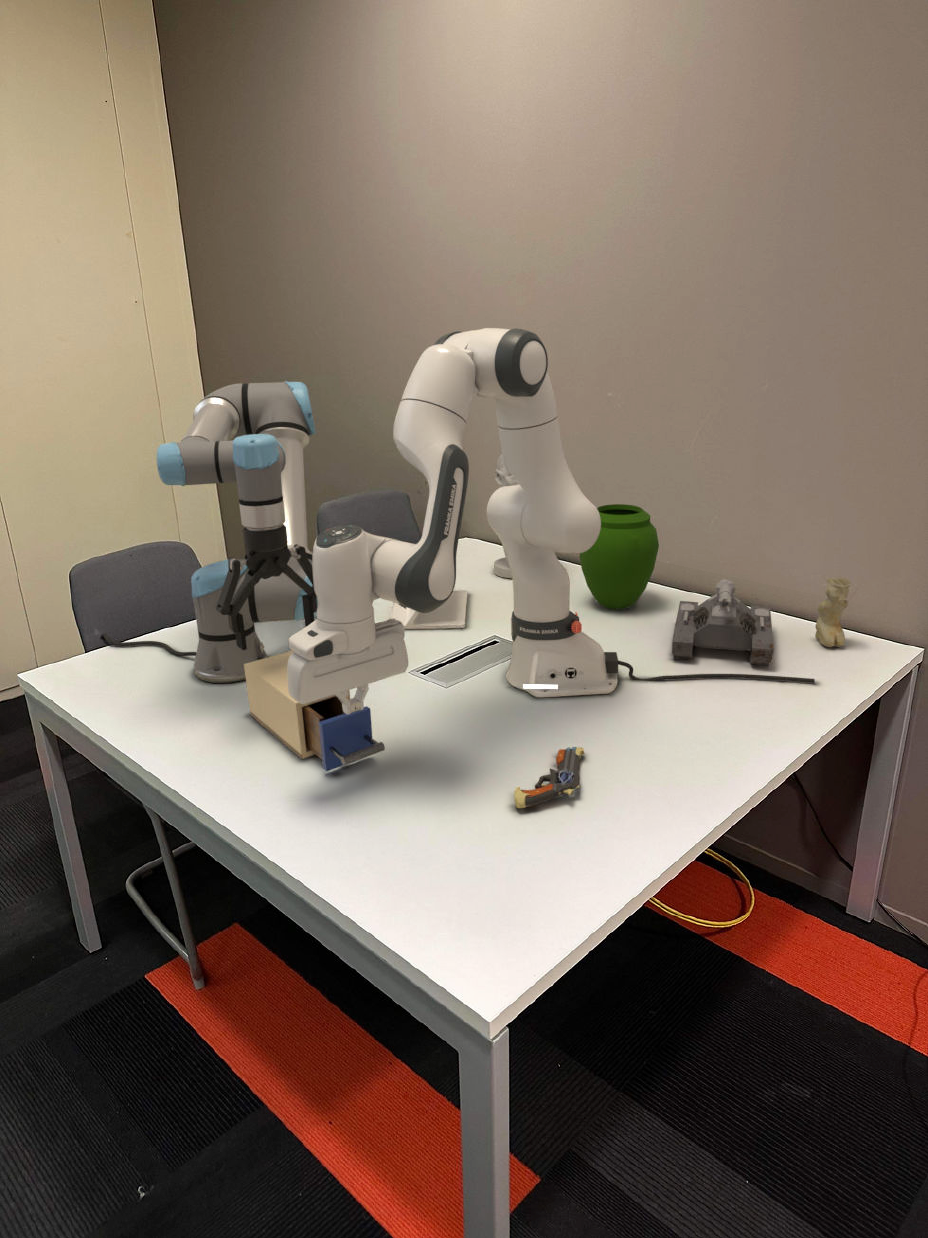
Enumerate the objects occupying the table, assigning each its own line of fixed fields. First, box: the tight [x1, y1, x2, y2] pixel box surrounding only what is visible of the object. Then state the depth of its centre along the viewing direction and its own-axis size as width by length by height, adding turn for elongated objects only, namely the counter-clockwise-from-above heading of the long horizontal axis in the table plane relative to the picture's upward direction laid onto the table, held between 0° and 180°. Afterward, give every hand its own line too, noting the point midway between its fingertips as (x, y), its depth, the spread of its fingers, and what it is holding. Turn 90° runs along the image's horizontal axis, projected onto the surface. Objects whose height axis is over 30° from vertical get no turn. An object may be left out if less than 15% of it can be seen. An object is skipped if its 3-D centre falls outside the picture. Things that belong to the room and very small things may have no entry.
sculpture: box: [814, 576, 852, 648], centre depth 185 cm, size 6×7×15 cm
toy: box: [671, 578, 775, 666], centre depth 186 cm, size 25×20×15 cm
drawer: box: [302, 696, 386, 772], centre depth 147 cm, size 26×9×9 cm, turn 37°
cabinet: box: [244, 650, 351, 760], centre depth 156 cm, size 22×10×11 cm, turn 37°
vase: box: [578, 503, 660, 610], centre depth 210 cm, size 20×20×24 cm
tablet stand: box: [388, 590, 468, 630], centre depth 211 cm, size 18×25×17 cm
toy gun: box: [513, 746, 585, 809], centre depth 137 cm, size 3×19×10 cm
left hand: (277, 638), depth 156 cm, fingers open, 13 cm apart
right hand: (353, 711), depth 137 cm, fingers closed
